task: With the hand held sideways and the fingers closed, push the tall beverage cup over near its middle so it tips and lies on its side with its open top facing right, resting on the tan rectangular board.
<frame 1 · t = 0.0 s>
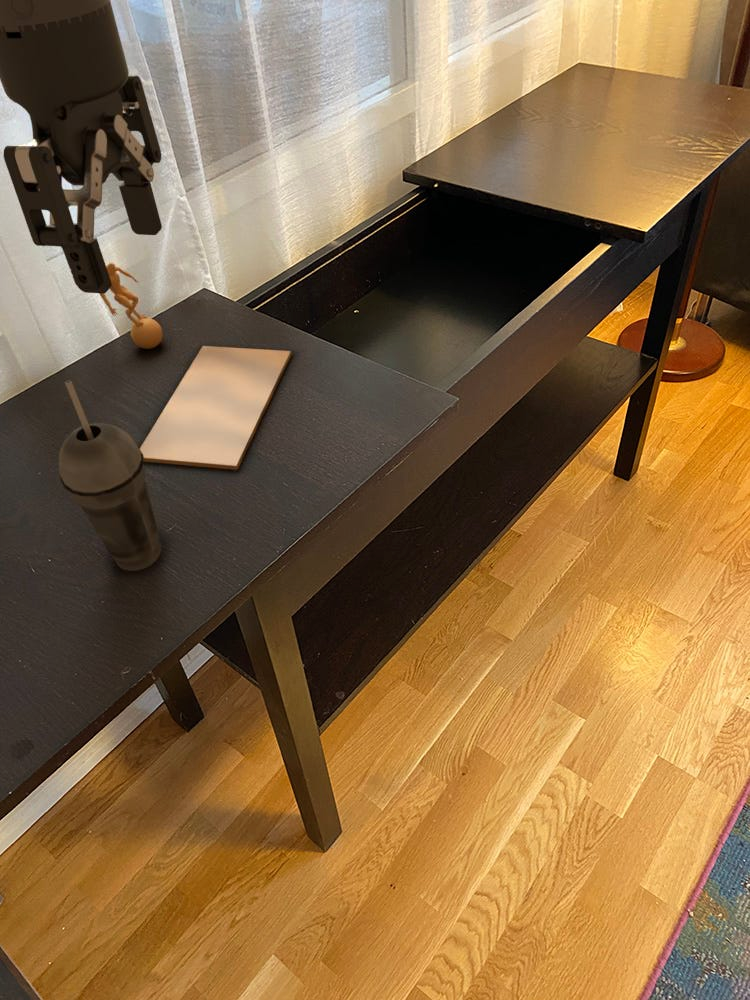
hand: (123, 260, 57), 30 cm above the table, tool pointing down, fingers open, 8 cm apart
beverage cup: (138, 554, 77), on the table
figurine: (143, 347, 104), on the table
tan rectangular board: (219, 404, 94), on the table
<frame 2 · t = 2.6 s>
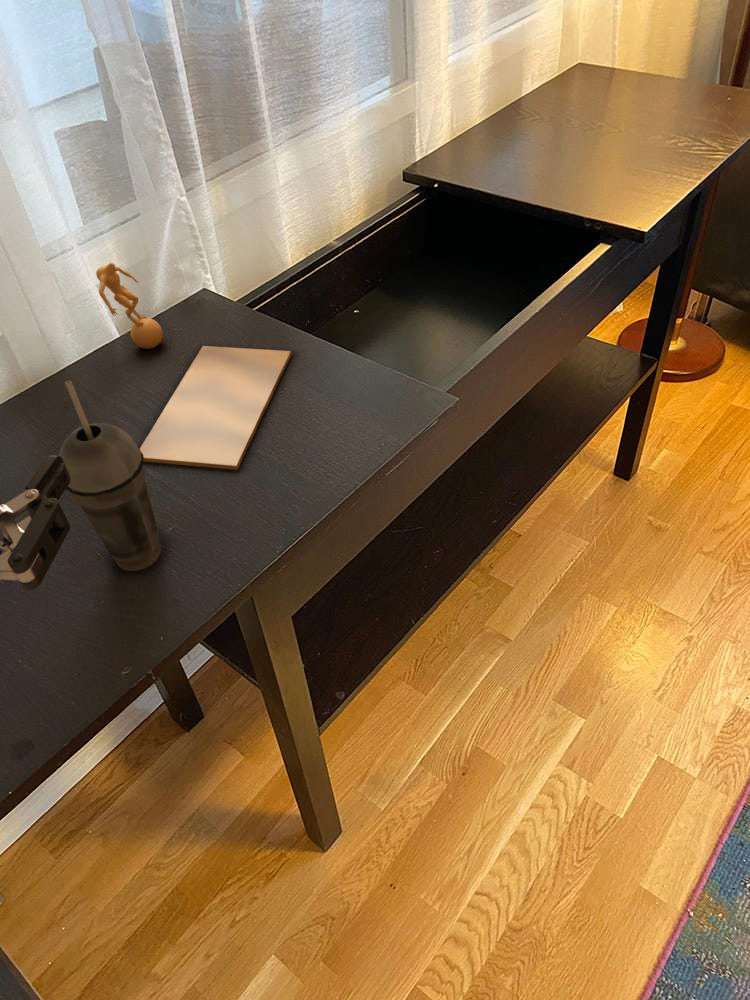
hand: (15, 460, 57), 20 cm above the table, tool horizontal, fingers open, 6 cm apart
nothing on the table moved.
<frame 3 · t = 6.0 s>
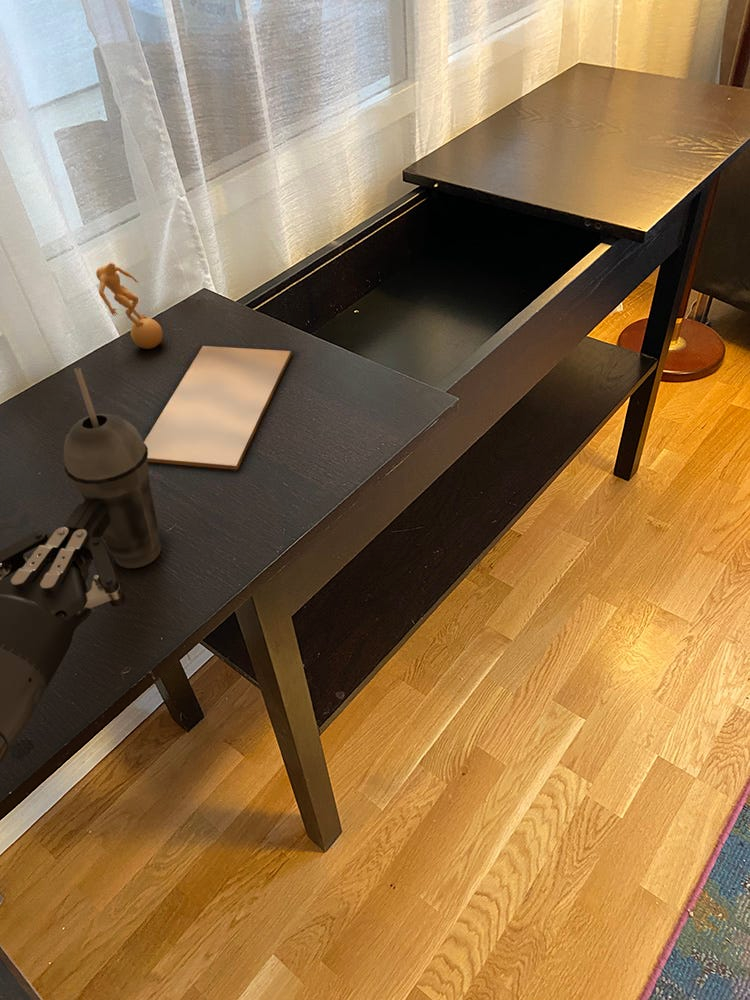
hand: (98, 506, 69), 9 cm above the table, tool horizontal, fingers closed
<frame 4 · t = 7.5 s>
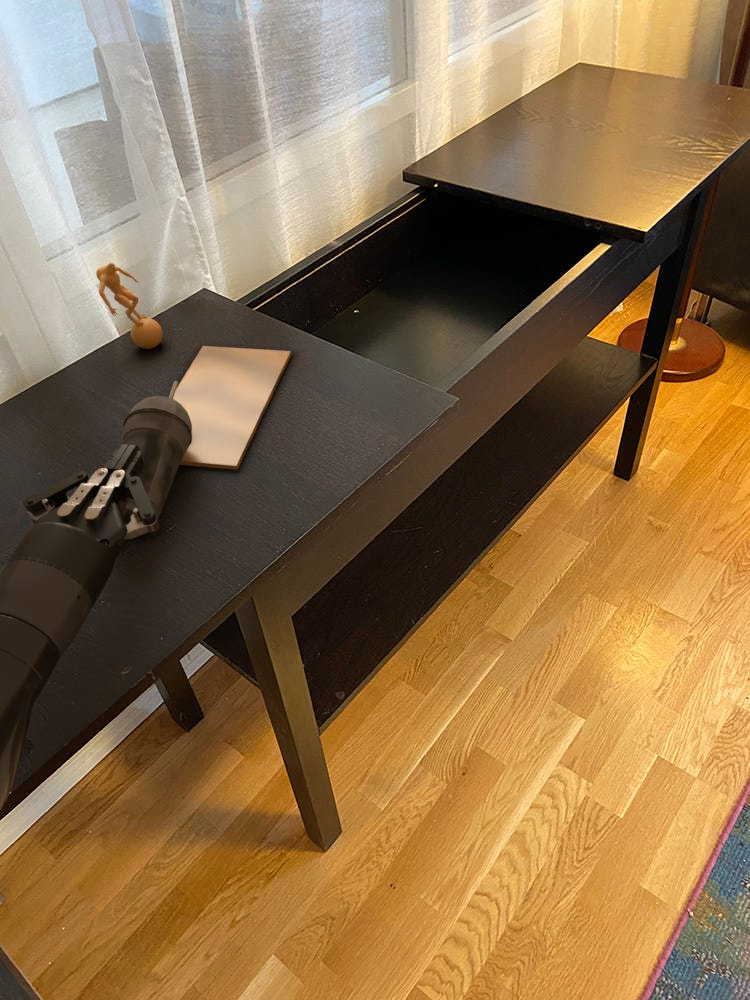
hand: (133, 451, 74), 9 cm above the table, tool horizontal, fingers closed
beverage cup: (131, 523, 77), point 2 cm above the table, touching tan rectangular board
everything else where it was.
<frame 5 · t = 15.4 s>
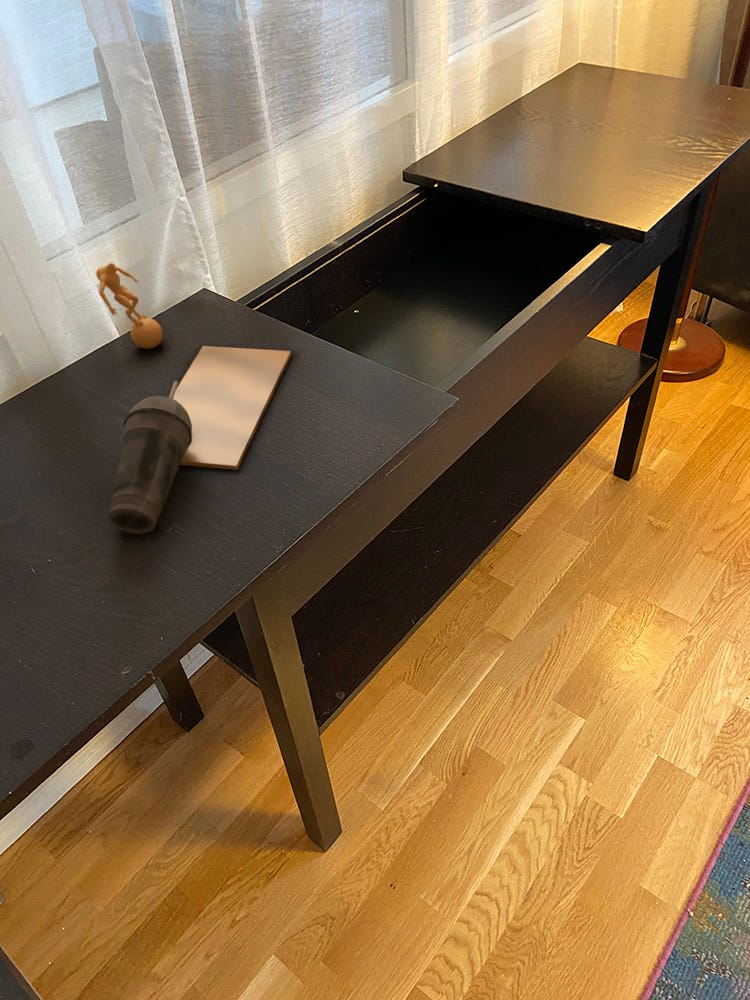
nothing on the table moved.
at the end: beverage cup tilted 80°; beverage cup touching tan rectangular board, table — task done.
